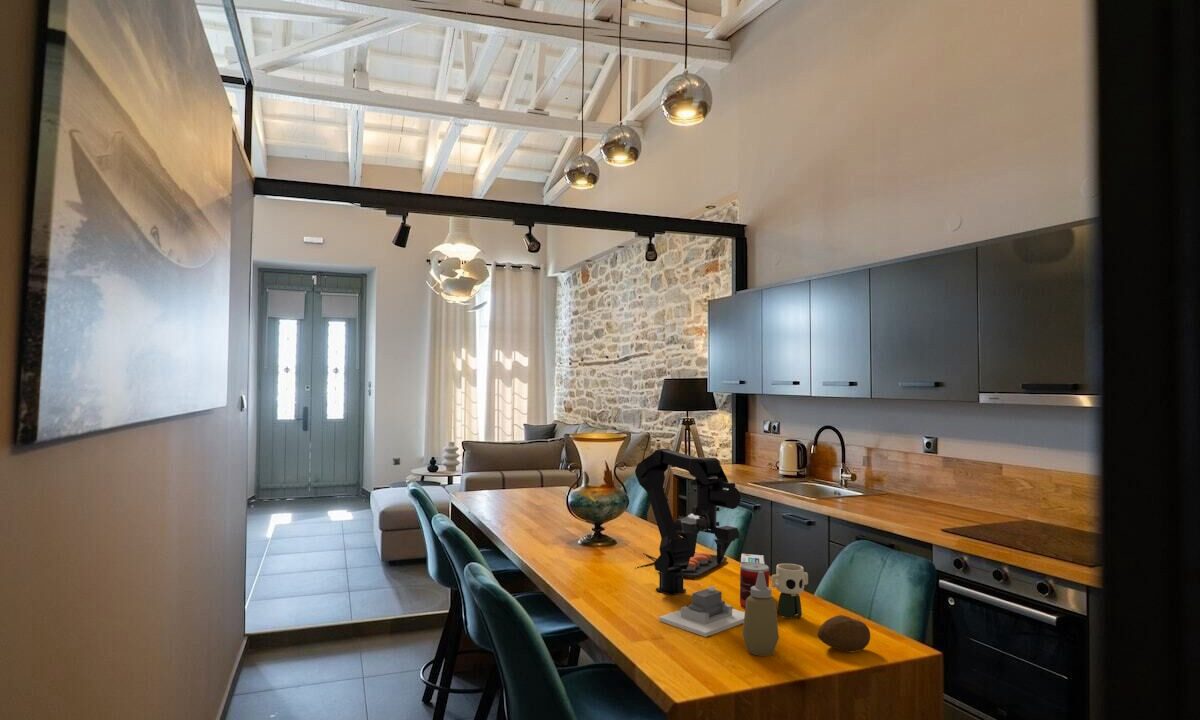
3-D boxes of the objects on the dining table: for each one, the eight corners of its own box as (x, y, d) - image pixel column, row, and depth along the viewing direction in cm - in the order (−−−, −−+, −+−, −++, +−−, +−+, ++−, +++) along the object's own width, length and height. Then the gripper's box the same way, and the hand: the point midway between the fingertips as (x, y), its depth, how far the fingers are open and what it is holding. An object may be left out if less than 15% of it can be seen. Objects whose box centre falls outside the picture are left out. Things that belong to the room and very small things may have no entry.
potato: (878, 654, 161) (878, 620, 162) (829, 658, 159) (829, 623, 159) (857, 641, 169) (857, 609, 170) (810, 645, 167) (810, 612, 167)
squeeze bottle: (737, 645, 165) (739, 567, 166) (771, 645, 166) (772, 567, 167) (748, 659, 157) (749, 577, 158) (783, 658, 158) (784, 577, 159)
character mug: (778, 622, 182) (779, 571, 182) (764, 614, 188) (764, 564, 189) (815, 619, 185) (815, 568, 186) (799, 610, 192) (800, 562, 192)
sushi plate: (695, 582, 219) (696, 570, 219) (611, 567, 235) (612, 555, 235) (730, 563, 244) (730, 551, 244) (652, 550, 259) (652, 539, 260)
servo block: (688, 618, 181) (688, 590, 181) (712, 609, 188) (712, 583, 188) (700, 622, 178) (701, 593, 178) (724, 613, 185) (725, 586, 185)
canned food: (769, 603, 197) (770, 564, 198) (766, 612, 190) (767, 571, 190) (742, 600, 200) (742, 561, 200) (737, 609, 192) (738, 568, 193)
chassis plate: (658, 620, 181) (659, 607, 181) (707, 604, 195) (707, 592, 195) (705, 636, 170) (705, 622, 171) (753, 618, 184) (753, 605, 184)
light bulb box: (764, 602, 199) (765, 563, 199) (740, 600, 200) (740, 561, 200) (763, 591, 209) (764, 554, 210) (740, 589, 211) (741, 553, 211)
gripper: (661, 501, 198) (660, 558, 197) (715, 511, 184) (714, 572, 184) (687, 497, 206) (686, 552, 205) (740, 507, 192) (740, 565, 192)
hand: (705, 560), depth 196 cm, fingers open, 9 cm apart
